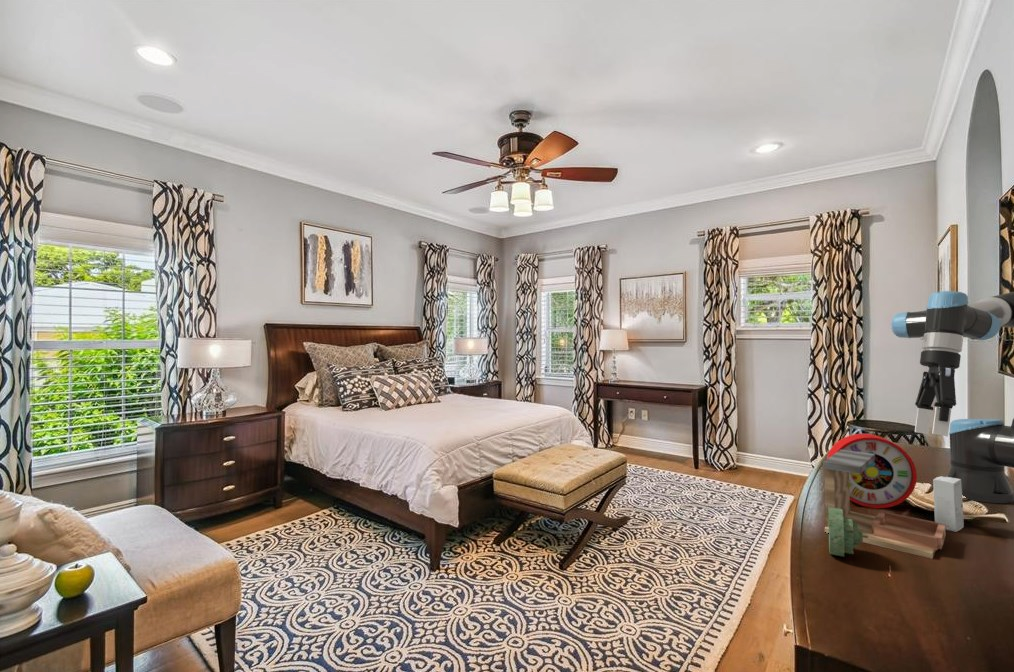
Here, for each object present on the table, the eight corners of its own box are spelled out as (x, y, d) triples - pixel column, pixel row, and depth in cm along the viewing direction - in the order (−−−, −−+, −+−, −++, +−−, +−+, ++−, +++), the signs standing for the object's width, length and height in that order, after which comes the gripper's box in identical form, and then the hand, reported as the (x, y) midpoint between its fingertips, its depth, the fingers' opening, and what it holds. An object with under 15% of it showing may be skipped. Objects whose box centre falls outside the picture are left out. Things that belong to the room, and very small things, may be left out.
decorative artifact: (828, 544, 111) (828, 501, 111) (866, 551, 107) (865, 507, 107) (830, 561, 103) (828, 515, 103) (870, 569, 99) (869, 521, 99)
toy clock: (831, 504, 138) (830, 435, 138) (826, 497, 143) (825, 431, 143) (918, 512, 130) (916, 439, 130) (909, 505, 136) (907, 435, 136)
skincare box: (957, 532, 117) (955, 483, 117) (933, 526, 120) (932, 479, 120) (964, 527, 120) (963, 479, 120) (941, 521, 124) (940, 475, 124)
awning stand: (841, 513, 130) (840, 449, 130) (947, 536, 114) (945, 463, 115) (824, 532, 118) (823, 461, 118) (939, 560, 102) (938, 478, 102)
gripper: (907, 355, 134) (897, 429, 132) (939, 342, 112) (927, 432, 110) (942, 359, 130) (932, 435, 129) (981, 347, 108) (970, 439, 107)
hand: (930, 434), depth 120 cm, fingers open, 13 cm apart
